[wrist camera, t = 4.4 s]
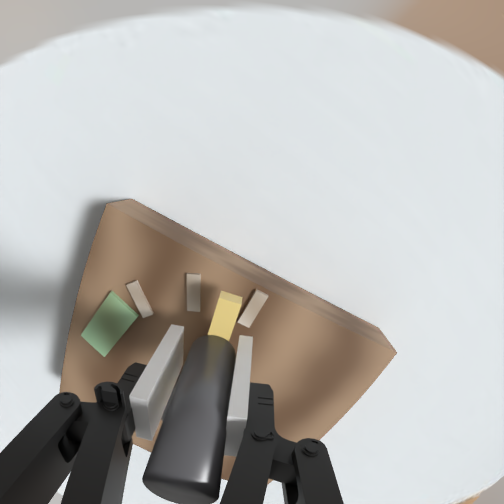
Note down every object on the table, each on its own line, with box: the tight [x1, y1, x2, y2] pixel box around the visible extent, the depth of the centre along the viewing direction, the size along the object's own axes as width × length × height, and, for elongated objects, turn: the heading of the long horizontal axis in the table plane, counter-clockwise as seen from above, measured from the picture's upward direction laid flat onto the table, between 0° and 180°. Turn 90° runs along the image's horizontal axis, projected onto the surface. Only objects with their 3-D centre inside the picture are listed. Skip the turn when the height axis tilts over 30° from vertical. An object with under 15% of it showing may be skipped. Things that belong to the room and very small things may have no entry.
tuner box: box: [59, 199, 397, 485], centre depth 22 cm, size 22×20×4 cm
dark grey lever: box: [142, 291, 242, 504], centre depth 13 cm, size 5×12×11 cm, turn 162°
